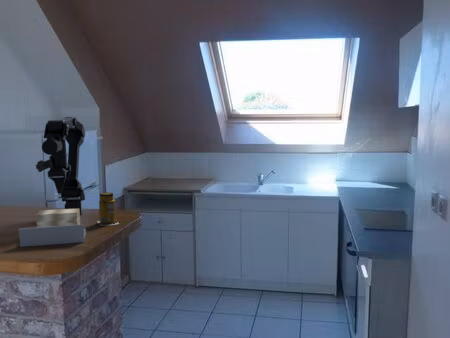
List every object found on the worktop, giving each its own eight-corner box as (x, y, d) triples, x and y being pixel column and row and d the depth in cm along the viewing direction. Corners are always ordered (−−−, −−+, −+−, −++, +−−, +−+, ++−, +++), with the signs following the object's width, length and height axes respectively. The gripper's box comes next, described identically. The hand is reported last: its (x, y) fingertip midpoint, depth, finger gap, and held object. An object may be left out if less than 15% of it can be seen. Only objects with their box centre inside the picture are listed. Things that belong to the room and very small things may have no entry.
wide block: (80, 228, 169) (79, 208, 168) (77, 233, 162) (76, 212, 161) (42, 231, 167) (40, 210, 166) (37, 236, 160) (35, 214, 159)
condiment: (114, 219, 182) (113, 191, 181) (119, 224, 175) (118, 194, 173) (96, 222, 179) (95, 192, 177) (100, 226, 171) (99, 196, 170)
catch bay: (27, 237, 158) (26, 221, 157) (87, 233, 162) (86, 217, 161) (20, 246, 147) (18, 229, 146) (84, 242, 151) (83, 224, 151)
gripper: (41, 151, 180) (43, 188, 182) (31, 155, 162) (34, 197, 164) (69, 150, 183) (72, 187, 185) (63, 154, 165) (66, 195, 167)
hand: (61, 191), depth 175 cm, fingers open, 9 cm apart
